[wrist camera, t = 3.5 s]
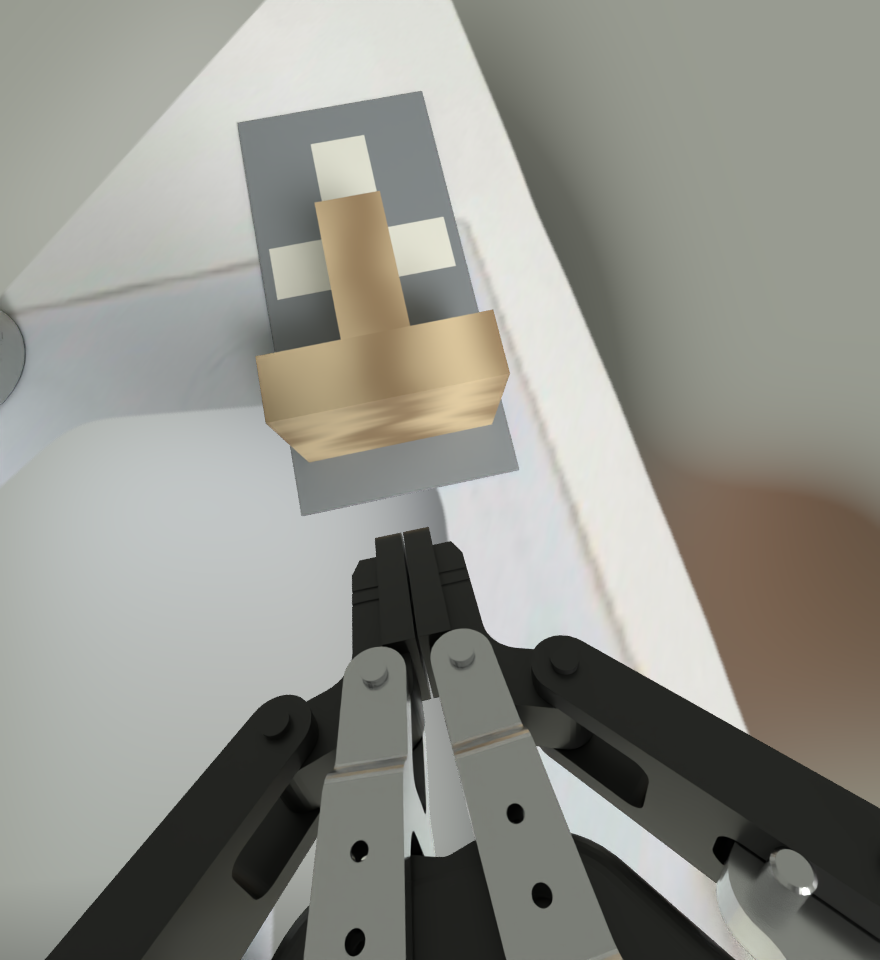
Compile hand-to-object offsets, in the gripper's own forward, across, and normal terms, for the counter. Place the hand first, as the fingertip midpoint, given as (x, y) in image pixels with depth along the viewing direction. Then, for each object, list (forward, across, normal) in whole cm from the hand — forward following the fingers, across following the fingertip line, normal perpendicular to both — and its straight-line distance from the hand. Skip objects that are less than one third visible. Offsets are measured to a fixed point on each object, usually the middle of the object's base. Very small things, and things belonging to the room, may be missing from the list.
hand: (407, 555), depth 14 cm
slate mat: (+26, 0, -2) cm, 26 cm away
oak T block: (+22, 0, +2) cm, 22 cm away
